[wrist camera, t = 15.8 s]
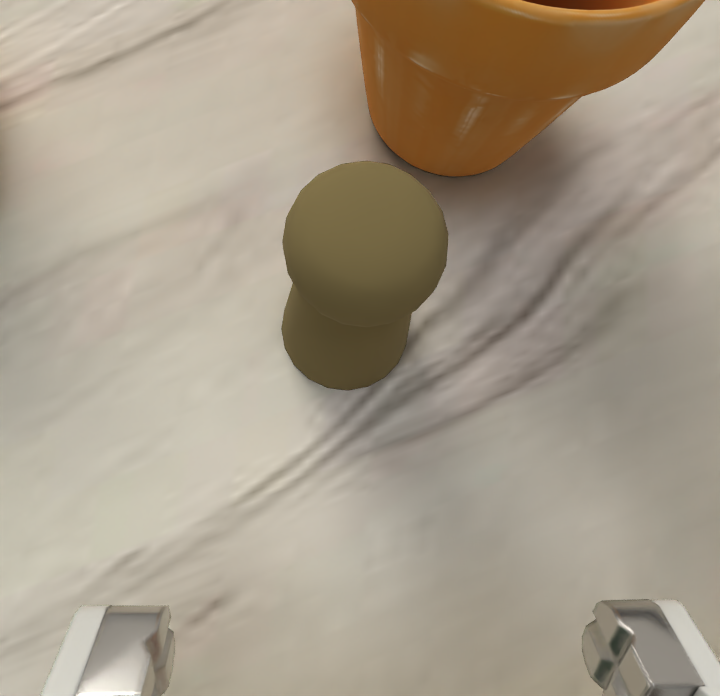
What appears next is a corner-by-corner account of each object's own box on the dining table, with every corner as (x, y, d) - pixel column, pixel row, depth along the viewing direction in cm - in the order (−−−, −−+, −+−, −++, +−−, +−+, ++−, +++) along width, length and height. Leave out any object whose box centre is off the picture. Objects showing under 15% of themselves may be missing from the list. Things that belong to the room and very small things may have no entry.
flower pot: (600, 54, 32) (791, -227, 20) (537, 265, 28) (722, 87, 16) (372, -34, 32) (415, -370, 20) (278, 166, 28) (256, -91, 16)
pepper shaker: (282, 392, 25) (265, 321, 15) (280, 269, 27) (265, 125, 16) (411, 388, 26) (485, 317, 15) (403, 268, 28) (465, 129, 17)
